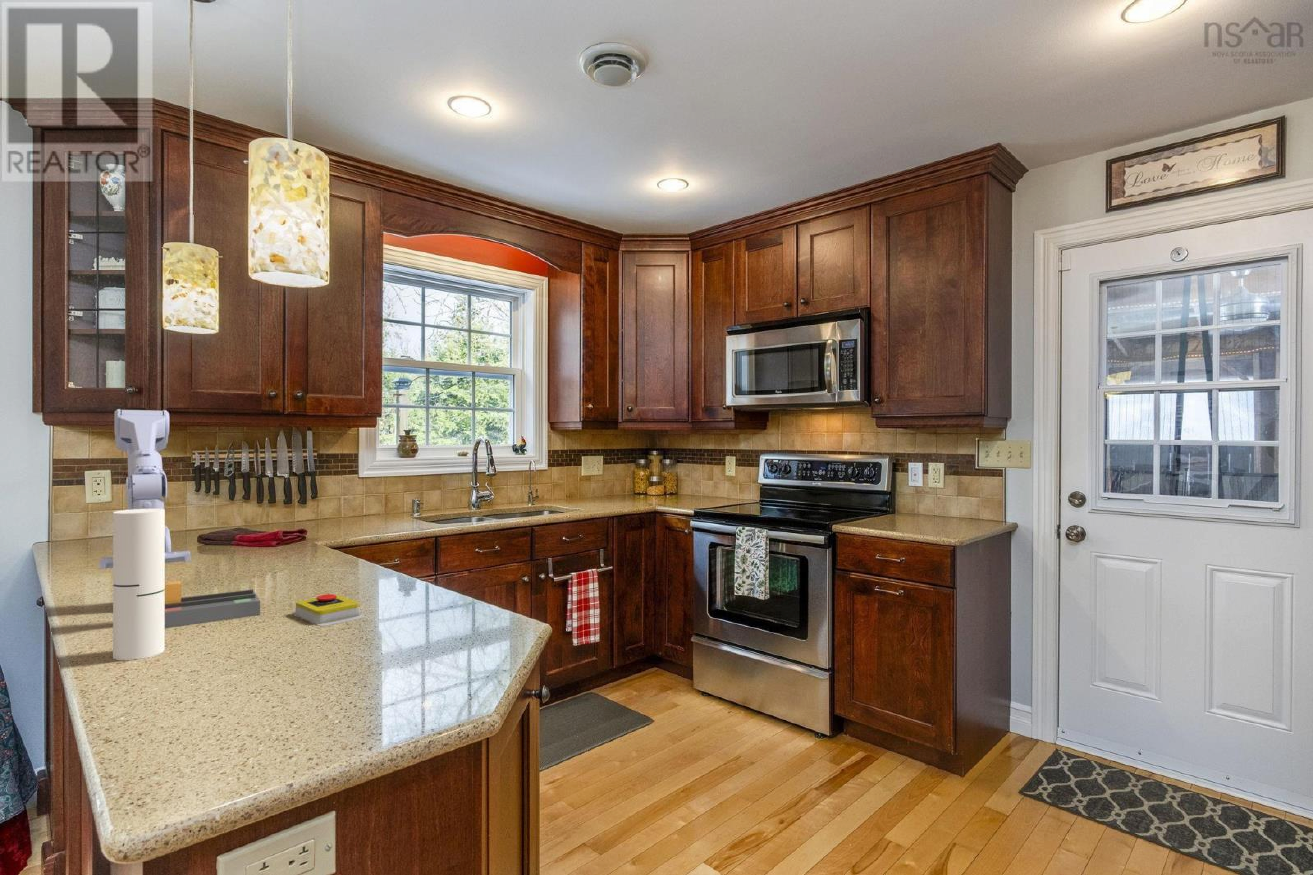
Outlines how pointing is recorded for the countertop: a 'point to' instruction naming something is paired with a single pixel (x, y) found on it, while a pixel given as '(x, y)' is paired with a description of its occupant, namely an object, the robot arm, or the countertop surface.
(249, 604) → the switch panel
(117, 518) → the cylindrical container
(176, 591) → the knob
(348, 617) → the emergency button
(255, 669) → the countertop surface
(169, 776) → the countertop surface
